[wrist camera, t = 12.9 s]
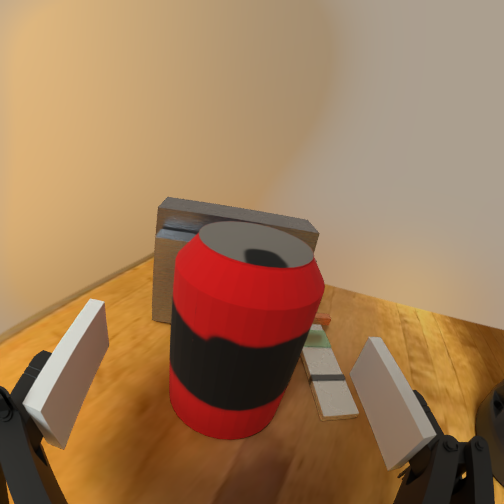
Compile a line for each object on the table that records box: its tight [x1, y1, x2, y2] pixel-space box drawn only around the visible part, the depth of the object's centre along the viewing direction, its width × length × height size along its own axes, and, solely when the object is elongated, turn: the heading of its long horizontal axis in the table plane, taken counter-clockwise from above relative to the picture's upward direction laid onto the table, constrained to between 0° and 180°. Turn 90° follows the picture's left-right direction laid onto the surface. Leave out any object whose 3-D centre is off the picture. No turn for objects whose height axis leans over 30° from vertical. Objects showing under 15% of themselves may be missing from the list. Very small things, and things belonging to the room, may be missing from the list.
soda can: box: [169, 221, 325, 440], centre depth 16 cm, size 8×8×12 cm
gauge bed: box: [152, 197, 359, 421], centre depth 22 cm, size 17×16×10 cm
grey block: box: [152, 229, 331, 325], centre depth 27 cm, size 17×7×8 cm, turn 95°
